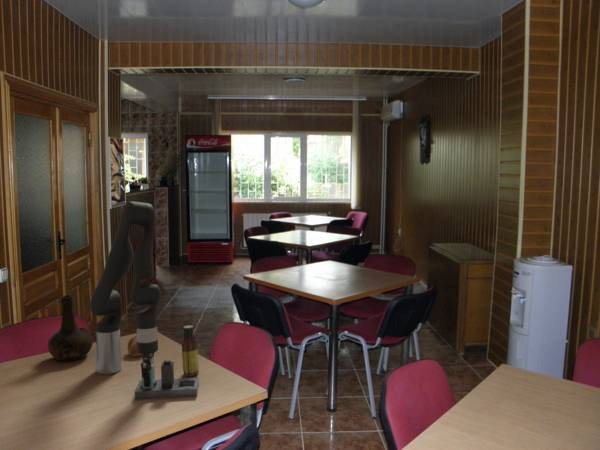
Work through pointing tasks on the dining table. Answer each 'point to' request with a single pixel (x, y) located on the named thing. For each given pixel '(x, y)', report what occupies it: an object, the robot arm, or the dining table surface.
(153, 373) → the plug
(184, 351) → the sauce bottle
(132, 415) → the dining table surface
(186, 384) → the gray slotted rack
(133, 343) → the bread roll
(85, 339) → the glass bottle
